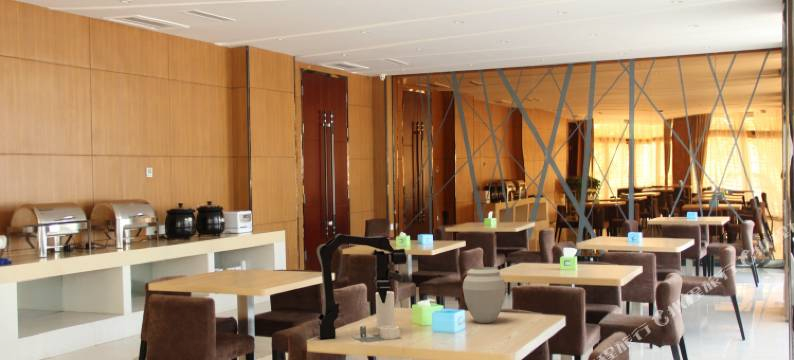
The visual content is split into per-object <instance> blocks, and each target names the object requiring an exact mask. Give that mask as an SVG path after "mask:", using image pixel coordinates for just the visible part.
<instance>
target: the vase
mask: <svg viewBox="0 0 794 360" xmlns="http://www.w3.org/2000/svg"><path fill="white" fill-rule="evenodd" d="M500 271H501V270H499V269H497V268H496V267H494V266H493V267H491V266H481V267H480V266H478V267H477V266H476V267H471V269H469V270H468V271H467V272H466V273H467V276H465V278H464V280H463V283H462V291H463V296H464V297H463V298H464V302H465V305H466V306H467V307H466V308H467V309H468V312H469V313H470V316H471V317H472V319H474V321H475V322H476V323H479V324H490V323H492V324H493V322H495V321H496V320H497V319H498V317H499V315H500V313H501V312H502V309H503V305H504V301H505V297H506V289H507V287H506V283H505V279H504V277H503V276H502V275H501V273H500Z"/></svg>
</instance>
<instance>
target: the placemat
mask: <svg viewBox="0 0 794 360" xmlns="http://www.w3.org/2000/svg"><path fill="white" fill-rule="evenodd" d="M371 335H372V336H374V337H375V338H372V339H362V340H358V341H359V342H361V343H363V342H366V343H372V342H374V343H375V342H383V341H386V340H385V339H381V337H380V333H378V334H371ZM392 340H393V341H394V340H395V339H392ZM392 340H391V341H392ZM397 340H402V337H400V336H399V338H398V339H397Z"/></svg>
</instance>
